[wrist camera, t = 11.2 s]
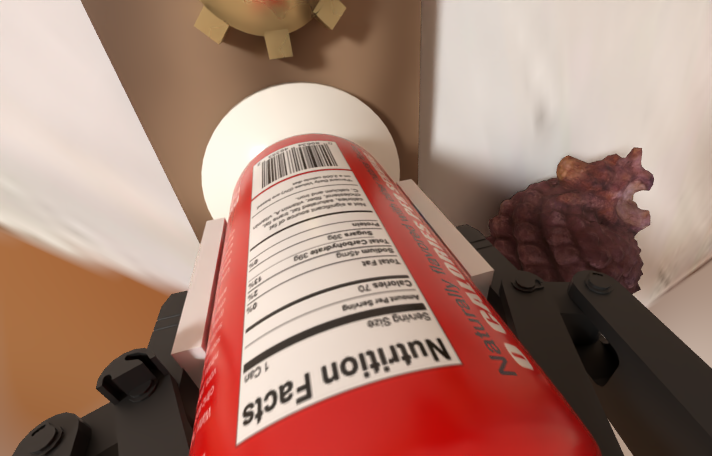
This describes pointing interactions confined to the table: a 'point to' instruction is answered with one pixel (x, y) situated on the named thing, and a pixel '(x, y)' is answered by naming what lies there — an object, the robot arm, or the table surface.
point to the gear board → (254, 75)
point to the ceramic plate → (287, 133)
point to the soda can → (359, 328)
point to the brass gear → (266, 19)
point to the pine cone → (577, 221)
